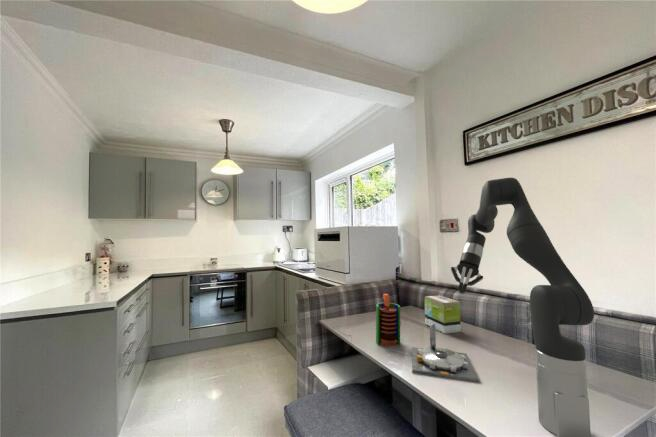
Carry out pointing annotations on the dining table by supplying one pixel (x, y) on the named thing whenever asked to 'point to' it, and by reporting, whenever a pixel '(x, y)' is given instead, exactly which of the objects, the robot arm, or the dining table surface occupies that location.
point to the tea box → (443, 313)
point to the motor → (387, 323)
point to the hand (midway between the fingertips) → (460, 292)
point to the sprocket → (440, 356)
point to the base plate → (460, 374)
